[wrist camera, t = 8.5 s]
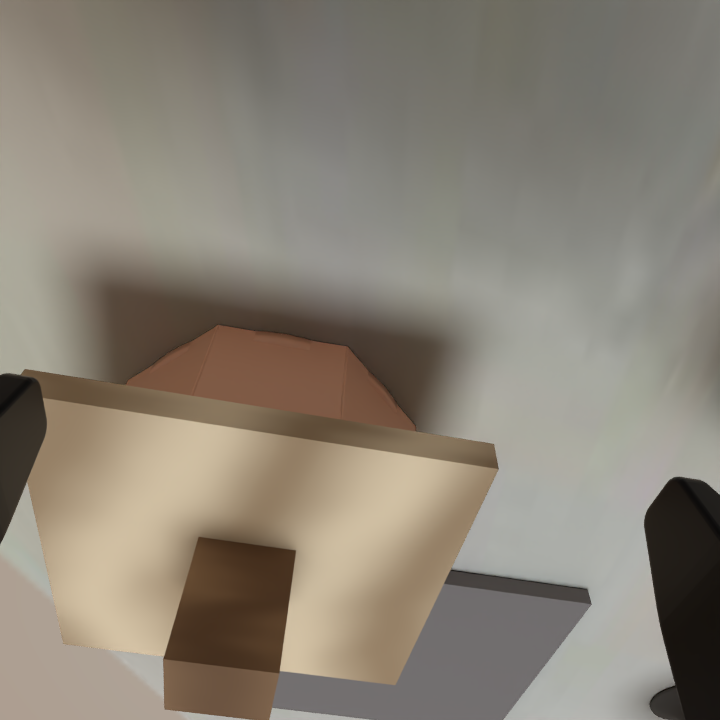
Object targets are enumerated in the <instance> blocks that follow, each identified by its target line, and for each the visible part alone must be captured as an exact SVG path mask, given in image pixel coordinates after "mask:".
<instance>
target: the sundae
mask: <svg viewBox="0 0 720 720" xmlns="http://www.w3.org/2000/svg"><path fill="white" fill-rule="evenodd" d="M650 708H651V710H652V712H653V713H654V714H655V715H657V716H658V717H661V718H663V719H668V720H685V719H684V715H683V712H682V708H681V704H680V700H679V697H678V693H677V689H676V686H675V687H672V688H669V689H667V690H664V691H662V692H661V693H659V694H658V695H656V696H655V697H654V698H653V700H652V701H651V704H650Z"/></svg>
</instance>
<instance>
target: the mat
mask: <svg viewBox="0 0 720 720" xmlns="http://www.w3.org/2000/svg"><path fill="white" fill-rule="evenodd" d="M591 605H592V604H591V600H590V597H589V593H588V590H585V589H578V588H571V587H564V586H557V585H550V584H542V583H535V582H528V581H521V580H514V579H507V578H500V577H493V576H486V575H478V574H471V573H464V572H457V571H450V572H449V574H448V576H447V578H446V580H445V582H444V584H443V587H442V589H441V591H440V593H439V595H438V597H437V599H436V601H435V603H434V605H433V608H432V610H431V612H430V614H429V616H428V618H427V620H426V622H425V624H424V626H423V628H422V631H421V633H420V635H419V637H418V639H417V641H416V643H415V645H414V647H413V649H412V651H411V654H410V656H409V658H408V660H407V662H406V664H405V666H404V668H403V670H402V672H401V674H400V677H399V679H398V681H397V683H396V685H390V684H382V683H373V682H365V681H357V680H349V679H341V678H333V677H325V676H317V675H309V674H301V673H293V672H285V671H280V673H279V678H278V682H277V687H276V691H275V696H274V700H273V705H272V708H279V709H287V710H295V711H304V712H312V713H321V714H329V715H338V716H346V717H354V718H363V719H371V720H503V719H504V718H505V717H506V715H507V714H508V713H509V711H510V710H511V709H512V707H513V706H514V705H515V704H516V702H517V701H518V700H519V698H520V697H521V696H522V694H523V693H524V692H525V691H526V689H527V688H528V687H529V685H530V684H531V683H532V681H533V680H534V679H535V677H536V676H537V675H538V674H539V672H540V671H541V670H542V668H543V667H544V666H545V664H546V663H547V662H548V661H549V659H550V658H551V657H552V655H553V654H554V653H555V651H556V650H557V649H558V648H559V646H560V645H561V644H562V642H563V641H564V640H565V638H566V637H567V636H568V634H569V633H570V632H571V631H572V629H573V628H574V627H575V625H576V624H577V623H578V621H579V620H580V619H581V618H582V616H583V615H584V614H585V612H586V611H587V610H588V608H589V607H590V606H591Z"/></svg>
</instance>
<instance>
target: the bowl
mask: <svg viewBox="0 0 720 720" xmlns="http://www.w3.org/2000/svg"><path fill="white" fill-rule="evenodd" d="M126 385H128V386H134V387H140V388H147V389H153V390H159V391H165V392H172V393H178V394H184V395H190V396H197V397H203V398H209V399H215V400H222V401H228V402H234V403H240V404H247V405H253V406H259V407H266V408H272V409H278V410H284V411H291V412H297V413H303V414H309V415H316V416H322V417H328V418H334V419H341V420H347V421H353V422H359V423H366V424H372V425H378V426H384V427H391V428H397V429H403V430H410V431H416V426H415V425H414V424H413V423H412V421H411V420H410V419H409V418H408V417H407V416H406V414H405V413H404V412H403V411H402V410H401V409H400V407H399V406H398V405H397V403H396V402H395V400H394V398H393V397H392V396H391V394H390V393H389V392H388V390H387V389H386V387H385V386H384V385H383V384H382V383H381V382H380V381H379V380H378V379H377V378H376V377H375V376H374V375H373V374H372V373H370V372H369V371H368V370H367V369H366V368H365V366H364V365H363V364H362V363H361V362H360V361H359V359H358V358H357V357H356V356H355V355H354V354H353V352H352V351H351V350H350V349H349V347H347V346H340V345H335V344H329V343H323V342H317V341H311V340H308V339H305V338H301V337H297V336H292V335H288V334H282V333H274V332H265V331H252V330H246V329H240V328H234V327H228V326H222V325H217V326H216V327H214V328H213V329H211V330H209V331H208V332H206V333H204V334H203V335H201V336H199V337H198V338H196V339H195V340H193V341H191V342H188V343H186V344H184V345H182V346H180V347H178V348H176V349H174V350H172V351H170V352H169V353H167V354H166V355H165V356H163V357H162V358H160V359H159V360H158V361H156V362H155V363H154V364H153V365H152V366H150V367H149V368H147V369H146V370H144V371H142V372H141V373H139V374H137V375H136V376H134V377H132V378H131V379H128V381H127V383H126Z"/></svg>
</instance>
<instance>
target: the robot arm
mask: <svg viewBox="0 0 720 720" xmlns="http://www.w3.org/2000/svg"><path fill="white" fill-rule="evenodd" d="M46 431H47V417H46V412H45V407H44V401H43V396H42V391H41V386H40V383H39V381H38V380H37V379H36V378H34V377H30V376H24V375H17V374H10V373H6V374H2V375H0V544H1V542H2V540H3V538H4V536H5V533H6V531H7V529H8V527H9V524H10V522H11V520H12V517H13V515H14V512H15V510H16V507H17V505H18V502H19V500H20V497H21V495H22V493H23V490H24V488H25V485H26V483H27V480H28V478H29V475H30V473H31V470H32V468H33V466H34V463H35V461H36V458H37V456H38V453H39V451H40V448H41V446H42V443H43V441H44V438H45V435H46ZM644 528H645V535H646V541H647V548H648V554H649V561H650V567H651V574H652V580H653V587H654V593H655V599H656V606H657V612H658V617H659V622H660V627H661V631H662V635H663V640H664V644H665V647H666V651H667V655H668V659H669V663H670V666H671V670H672V674H673V678H674V681H675V685H676V689H677V693H678V697H679V700H680V704H681V708H682V712H683V715H684V719H685V720H720V495H719V494H718V493H717V492H716V491H715V490H714V489H712V488H711V487H710V486H709V485H708V484H707V483H705V482H703V481H701V480H697V479H691V478H684V477H674V478H672V479H670V480H669V481H668V482H667V484H666V485H665V486H664V488H663V489H662V490H661V492H660V493H659V495H658V496H657V497H656V499H655V500H654V501H653V503H652V504H651V505H650V507H649V508H648V510H647V512H646V515H645V519H644Z"/></svg>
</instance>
